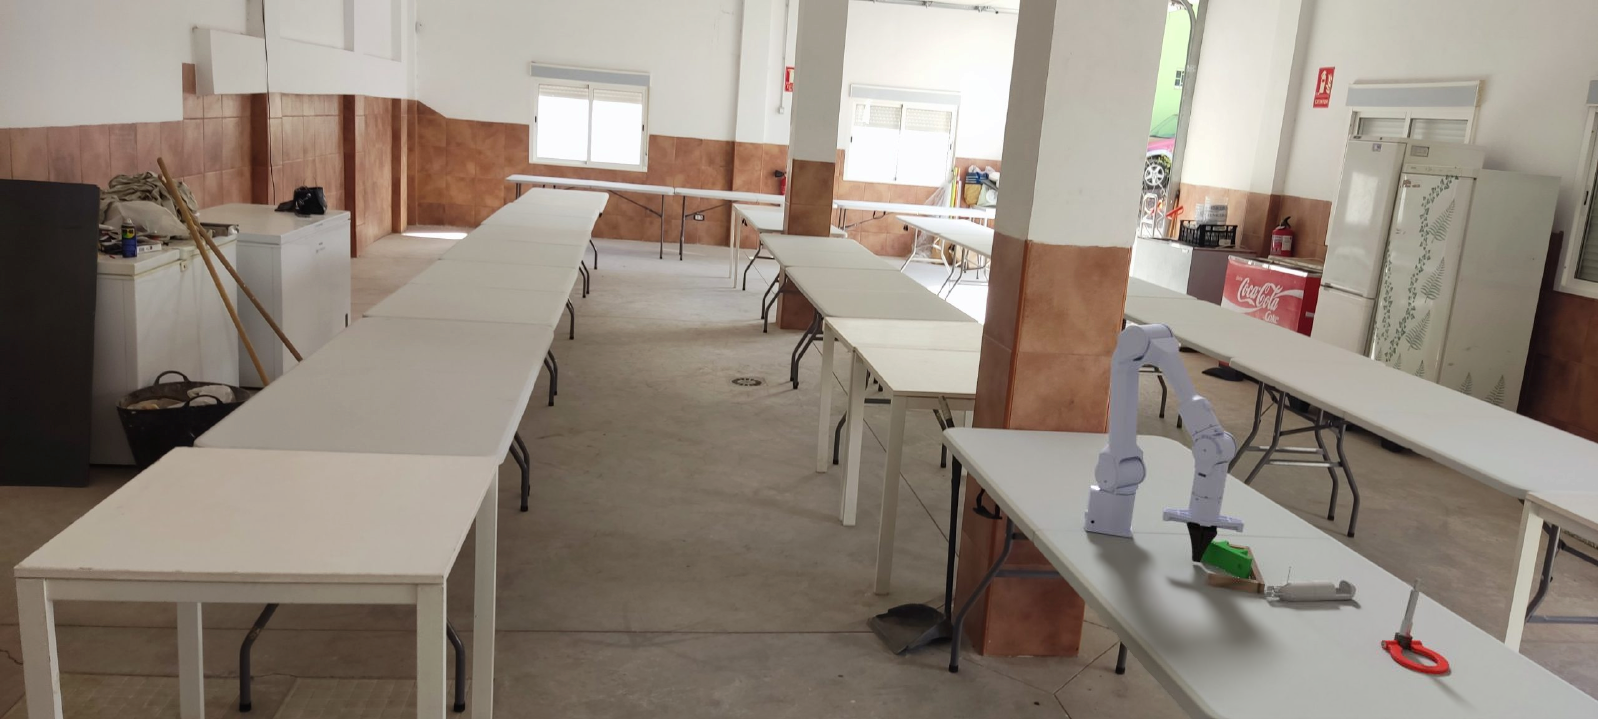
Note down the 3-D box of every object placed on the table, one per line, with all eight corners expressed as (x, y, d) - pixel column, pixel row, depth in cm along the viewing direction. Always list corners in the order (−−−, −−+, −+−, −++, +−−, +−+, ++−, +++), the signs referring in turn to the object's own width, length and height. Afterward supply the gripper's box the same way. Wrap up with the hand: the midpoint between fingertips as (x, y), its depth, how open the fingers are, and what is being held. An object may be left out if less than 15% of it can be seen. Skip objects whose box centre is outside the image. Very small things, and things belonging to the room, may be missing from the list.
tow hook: (1459, 676, 170) (1420, 646, 179) (1479, 604, 167) (1438, 576, 176) (1412, 677, 169) (1374, 646, 178) (1430, 604, 166) (1391, 576, 174)
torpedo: (1342, 592, 199) (1348, 560, 198) (1359, 604, 195) (1366, 570, 193) (1256, 595, 195) (1262, 561, 194) (1273, 606, 191) (1279, 572, 189)
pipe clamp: (1257, 578, 203) (1261, 556, 202) (1244, 581, 201) (1248, 559, 200) (1210, 555, 212) (1213, 534, 211) (1197, 558, 210) (1200, 536, 209)
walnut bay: (1207, 585, 197) (1209, 575, 197) (1196, 548, 215) (1198, 538, 215) (1263, 594, 195) (1265, 584, 195) (1247, 555, 213) (1249, 546, 213)
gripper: (1169, 494, 201) (1158, 561, 204) (1250, 506, 198) (1238, 574, 201) (1166, 483, 208) (1155, 548, 211) (1244, 494, 205) (1233, 560, 208)
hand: (1195, 560), depth 207 cm, fingers closed
